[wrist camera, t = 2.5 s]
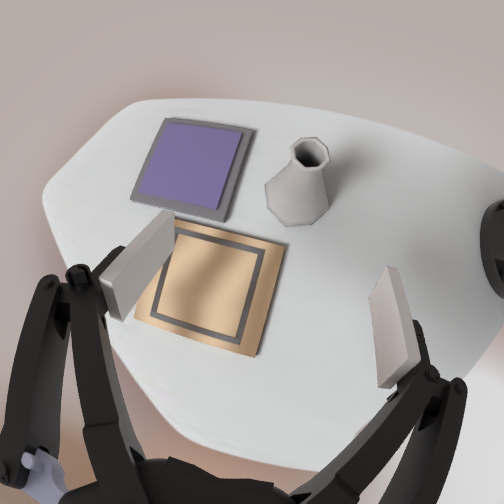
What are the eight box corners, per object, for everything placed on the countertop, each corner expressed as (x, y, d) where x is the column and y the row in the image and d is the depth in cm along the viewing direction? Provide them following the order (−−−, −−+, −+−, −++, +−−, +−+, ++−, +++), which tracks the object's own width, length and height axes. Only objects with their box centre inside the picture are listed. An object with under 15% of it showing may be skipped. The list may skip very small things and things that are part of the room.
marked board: (284, 247, 29) (284, 246, 28) (254, 356, 27) (254, 357, 27) (164, 217, 30) (162, 215, 29) (135, 317, 28) (133, 318, 28)
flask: (254, 181, 30) (249, 133, 21) (309, 160, 31) (325, 109, 21) (281, 238, 29) (290, 209, 19) (338, 213, 30) (369, 176, 20)
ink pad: (252, 133, 31) (252, 128, 30) (224, 222, 30) (222, 219, 29) (166, 121, 32) (164, 116, 31) (132, 201, 31) (128, 198, 30)
